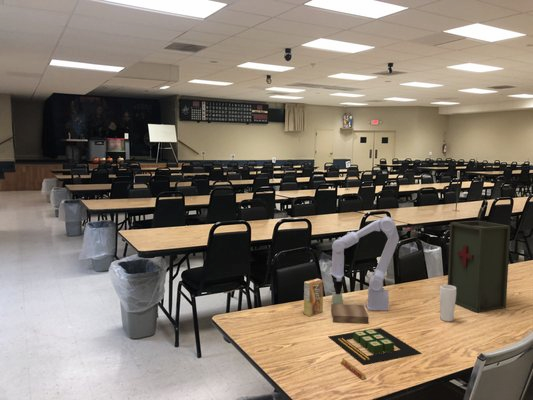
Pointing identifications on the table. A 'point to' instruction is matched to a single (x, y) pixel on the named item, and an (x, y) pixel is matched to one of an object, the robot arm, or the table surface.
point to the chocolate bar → (353, 369)
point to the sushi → (374, 346)
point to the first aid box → (479, 264)
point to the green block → (337, 298)
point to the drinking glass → (447, 302)
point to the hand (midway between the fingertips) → (337, 291)
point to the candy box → (313, 297)
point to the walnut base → (349, 313)
